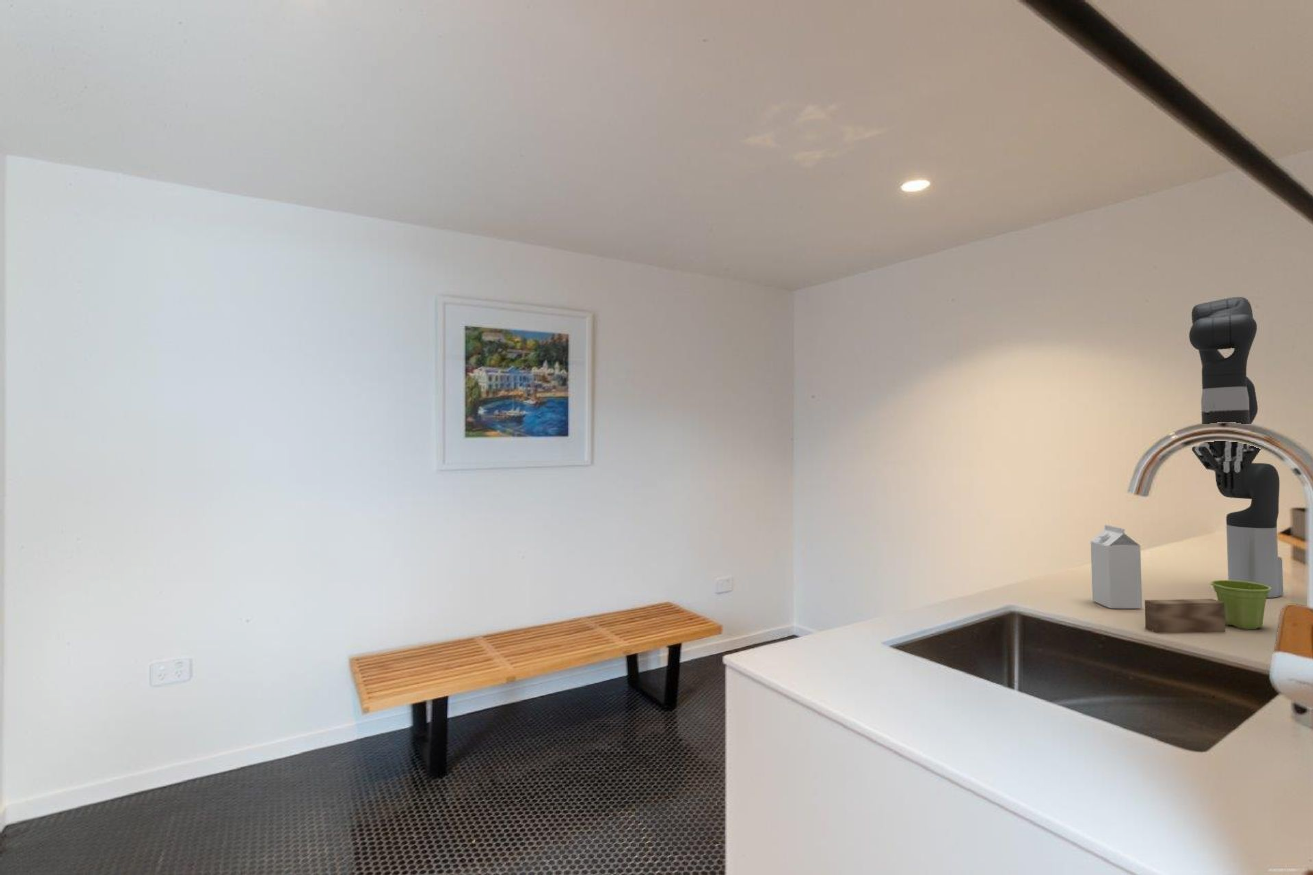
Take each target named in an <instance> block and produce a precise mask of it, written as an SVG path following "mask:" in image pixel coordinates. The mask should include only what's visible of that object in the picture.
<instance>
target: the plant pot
mask: <svg viewBox="0 0 1313 875" xmlns="http://www.w3.org/2000/svg"><path fill="white" fill-rule="evenodd" d="M1210 585H1212V587H1213V590H1214V592H1215V593H1216V598H1217V601H1221V602H1224V608H1225V626H1226V625H1227V626H1235V627H1236V628H1239V629H1248V630H1256V629H1261V628H1263V621H1264V617H1265V616H1264V615H1265V608H1266V603H1267V602H1266V601H1267V597H1268V593H1269V591H1270V590H1271V587H1269V586H1267V585H1263V584H1258V583H1252V582H1244V581H1233V580H1228V579H1227V580H1226V579H1225V580H1224V579H1217V580H1216V579H1215V580H1212V581H1210Z"/></svg>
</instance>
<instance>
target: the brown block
mask: <svg viewBox="0 0 1313 875" xmlns="http://www.w3.org/2000/svg"><path fill="white" fill-rule="evenodd" d="M1144 622H1145V629H1146V628H1147V630H1149V631H1151V630H1153V631H1152V632H1153V633H1156V632H1170V633H1208V632H1209V633H1219V632H1222V633H1223V632H1224V633H1225V632H1226V624H1225V608H1224V602H1221V601H1218V599H1213V598H1195V599H1194V598H1189V599H1188V598H1187V599H1185V598H1184V599H1144Z"/></svg>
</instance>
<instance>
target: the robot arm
mask: <svg viewBox="0 0 1313 875" xmlns="http://www.w3.org/2000/svg"><path fill="white" fill-rule="evenodd" d="M1191 324H1192V325H1191V327H1190V330H1189V334H1188V338H1189V342H1190V344H1191V346H1192V347H1193V348H1194V349H1195V350H1198V354H1199V357H1200V358H1199V359H1200V361H1201V387H1202V391H1201V392H1202V393H1201V399H1200V406H1201V425H1202V424H1210V423H1217V422H1236V423H1241V424H1251V425H1252V423H1253V422H1254V420H1255V419H1256V417H1257V414H1258V410H1259V407H1258V400H1257V399H1258V398H1257V393H1256V387H1255V385H1254V383H1253V381H1252V380H1251V379H1250V378H1249V377H1248V376H1247V367H1248V366H1247V365H1248V358H1249V355H1250V351H1251V349H1252V346H1253V343H1254V341H1255V338H1256V334H1257V330H1258V326H1257V322H1256V320H1255V319H1254V314H1253V308H1252V305H1251V302H1250V301H1249V300H1248V299H1247V298H1246V297H1244V296H1235V297H1234V296H1233V297H1228V298H1223V299H1217V300H1212V301H1208V302H1202V303H1199V304H1195V305H1194V306H1193V308H1192V310H1191ZM1229 349H1233V351H1232V352H1231V354H1230V355H1229V356H1226V357H1225V356H1224V355H1223V354H1222V353H1221V352H1220V351H1219V350H1229ZM1261 450H1262V448H1261V449H1259V448H1256V447H1254V446H1250V445H1247V444H1242V443H1239V442H1229V441H1214V442H1204V443H1203V442H1202V443H1200V444H1199V445H1198V446H1197V445H1196V446H1192V448H1191V451H1192V452H1193V454H1194V455H1195V456H1196V458H1197V459H1198V460H1199V462H1200V463H1201V464H1202V466H1203V467H1204V468H1205V470H1211V471H1213V472H1214V474H1215V484H1216V486H1217V489H1218V492H1219V493H1220V494H1221V495H1222V496H1223V497H1225V498H1231V499H1232V498H1233V499H1242V500H1243V499H1244V500H1251V501H1250V504H1249V506H1248V507H1247V508H1245V509H1242V510H1237V511H1232V512H1229V513H1228V514H1226V516H1225V517H1226V520H1225V522H1226V524H1225V525H1226V527H1225V528H1226V548H1227V549H1226V550H1227V553H1226V554H1227V555H1226V556H1227V557H1226V558H1227V580H1233V581H1244V582H1252V583H1258V584H1263V585H1267V586H1269V587H1271V590H1270V591H1269V593H1268V597H1266V599H1267V598H1268V599H1269V598H1271V599H1272V598H1278V597H1283V596H1284V575H1283V573H1284V572H1283V558H1282V557H1281V556H1279V553H1278V552H1279V546H1278V544H1279V543H1278V525H1277V524H1278V523H1277V522H1278V518H1279V513H1280V512H1279V511H1280V510H1279V509H1280V508H1279V507H1280V502H1279V500H1280V483H1281V482H1280V476H1279V472H1278V470H1277V468H1276V467H1275V466H1274V465H1273V464H1271V463H1265V462H1254V460H1255V459H1256V457H1257V456H1258V454H1259V453H1260V451H1261Z"/></svg>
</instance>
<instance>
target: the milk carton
mask: <svg viewBox="0 0 1313 875" xmlns="http://www.w3.org/2000/svg"><path fill="white" fill-rule="evenodd" d="M1141 556H1142V555H1141V545H1140V544H1139V543H1138V542H1136V541H1135V540H1134V539H1132V538H1131V536H1128V535H1127V534H1126V533H1125V528H1122V527H1117V526H1112V525H1109V524H1108V525H1107V524H1104V529H1103V530H1102V531H1101V532H1100V533H1098V534H1097V535H1096V536H1095V537H1094V538H1092V539H1091V540H1090V563H1091V565H1090V566H1091V588H1092V589H1091V592H1092V594H1091V595H1092V601H1093V602H1094V603H1097V604H1098V605H1099V604H1100V605H1102V606H1104V607H1106V608H1108V609H1143V591H1142V590H1143V589H1142V586H1143V585H1142V584H1143V583H1142V559H1141V558H1142V557H1141Z"/></svg>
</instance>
